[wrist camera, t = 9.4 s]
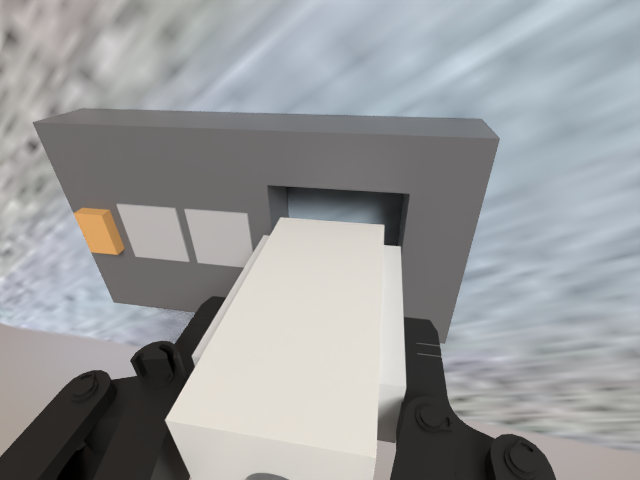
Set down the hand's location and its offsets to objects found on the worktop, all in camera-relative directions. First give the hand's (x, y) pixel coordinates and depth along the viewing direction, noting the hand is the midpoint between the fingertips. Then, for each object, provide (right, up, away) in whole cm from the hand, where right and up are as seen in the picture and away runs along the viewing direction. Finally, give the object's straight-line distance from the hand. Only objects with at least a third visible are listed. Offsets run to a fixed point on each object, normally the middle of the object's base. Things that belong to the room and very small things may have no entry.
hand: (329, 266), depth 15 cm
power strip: (-3, +3, +4) cm, 6 cm away
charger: (0, 0, 0) cm, 0 cm away
